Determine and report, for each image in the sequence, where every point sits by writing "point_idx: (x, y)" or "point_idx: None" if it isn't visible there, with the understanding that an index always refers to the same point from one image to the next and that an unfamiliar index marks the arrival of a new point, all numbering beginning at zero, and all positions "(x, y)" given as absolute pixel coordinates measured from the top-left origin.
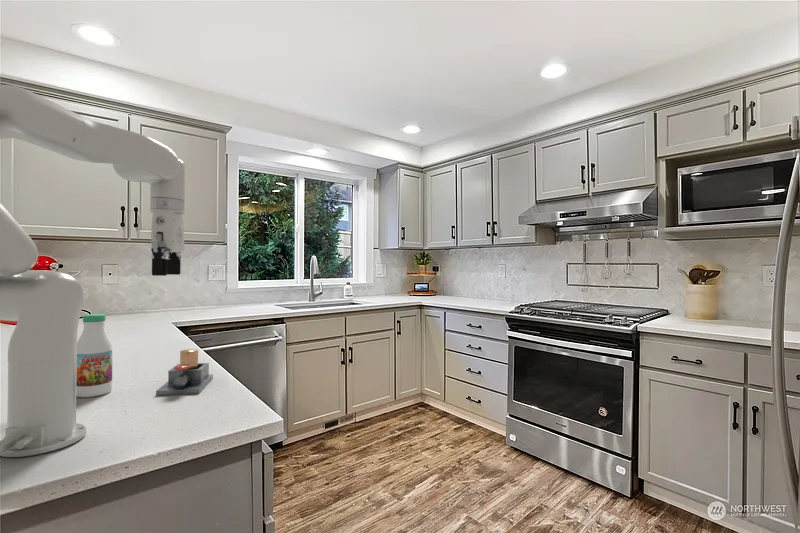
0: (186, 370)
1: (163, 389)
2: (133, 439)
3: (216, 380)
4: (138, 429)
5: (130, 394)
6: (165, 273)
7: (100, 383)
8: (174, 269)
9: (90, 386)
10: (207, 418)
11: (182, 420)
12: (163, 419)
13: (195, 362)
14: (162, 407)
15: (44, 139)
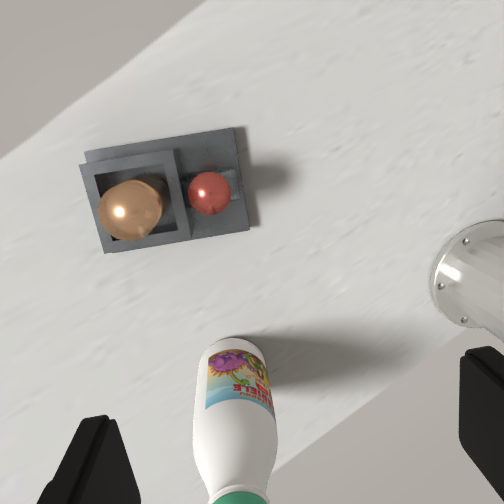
0: (180, 191)
1: (238, 218)
2: (499, 131)
3: (106, 131)
4: (452, 149)
5: (238, 288)
6: (497, 357)
7: (253, 355)
8: (112, 490)
9: (264, 365)
10: (413, 24)
11: (417, 80)
12: (406, 127)
13: (143, 181)
14: (331, 168)
15: None
